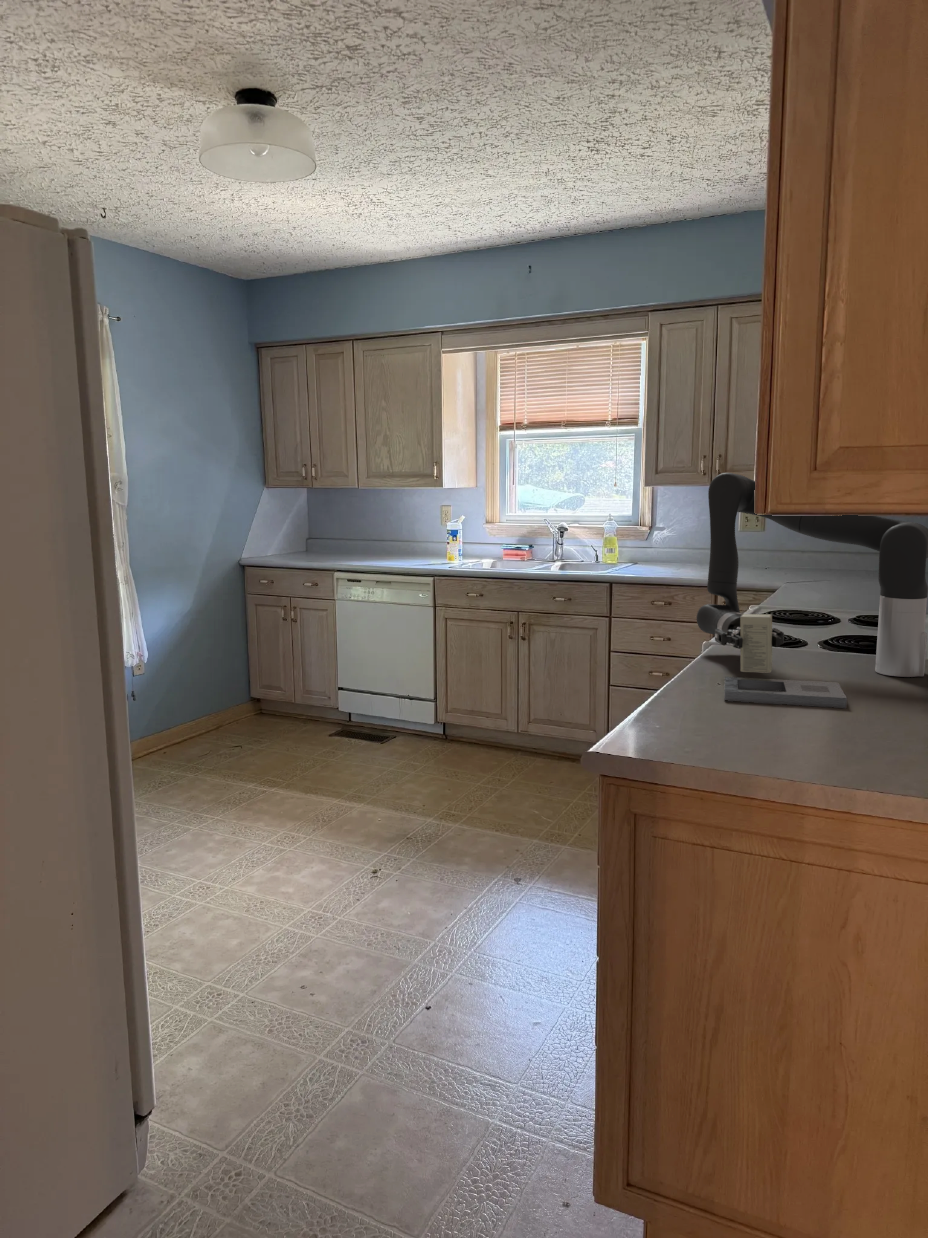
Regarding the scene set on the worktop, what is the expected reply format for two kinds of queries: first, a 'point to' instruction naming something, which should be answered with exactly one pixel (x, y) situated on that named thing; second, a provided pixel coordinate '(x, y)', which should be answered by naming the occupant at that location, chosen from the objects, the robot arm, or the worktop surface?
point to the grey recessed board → (785, 692)
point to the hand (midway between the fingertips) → (759, 642)
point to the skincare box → (756, 643)
